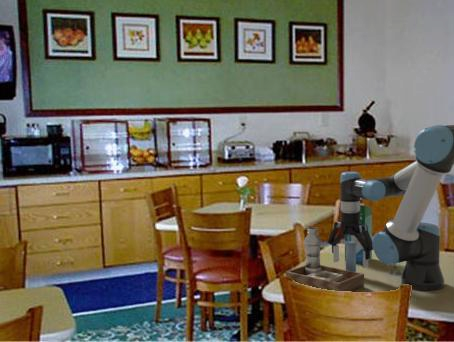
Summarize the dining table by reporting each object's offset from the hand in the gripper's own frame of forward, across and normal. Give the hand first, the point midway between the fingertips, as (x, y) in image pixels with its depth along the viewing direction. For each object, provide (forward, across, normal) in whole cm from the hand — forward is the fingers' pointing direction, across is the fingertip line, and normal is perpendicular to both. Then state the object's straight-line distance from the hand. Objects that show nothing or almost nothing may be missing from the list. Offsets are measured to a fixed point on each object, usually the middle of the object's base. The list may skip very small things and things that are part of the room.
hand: (350, 264), depth 230 cm
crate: (+4, 0, +18) cm, 19 cm away
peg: (+4, 0, 0) cm, 4 cm away
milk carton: (+5, +10, -22) cm, 24 cm away
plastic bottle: (+4, +8, +14) cm, 17 cm away
